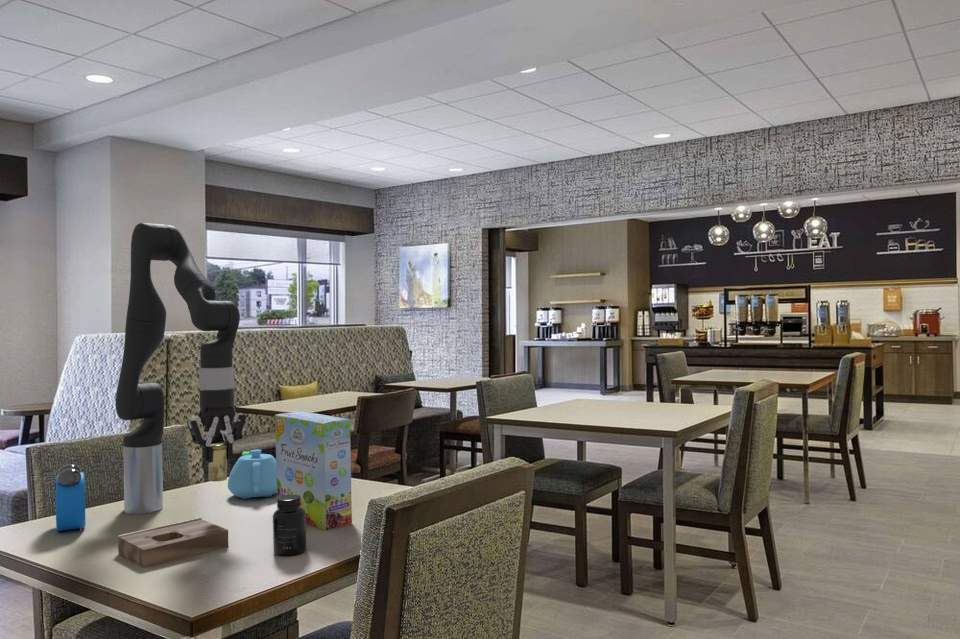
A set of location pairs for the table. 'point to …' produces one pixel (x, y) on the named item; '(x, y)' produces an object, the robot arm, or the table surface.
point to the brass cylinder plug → (218, 463)
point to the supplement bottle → (289, 527)
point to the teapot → (254, 476)
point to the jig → (172, 542)
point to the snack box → (315, 465)
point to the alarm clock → (70, 498)
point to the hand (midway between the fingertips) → (217, 460)
